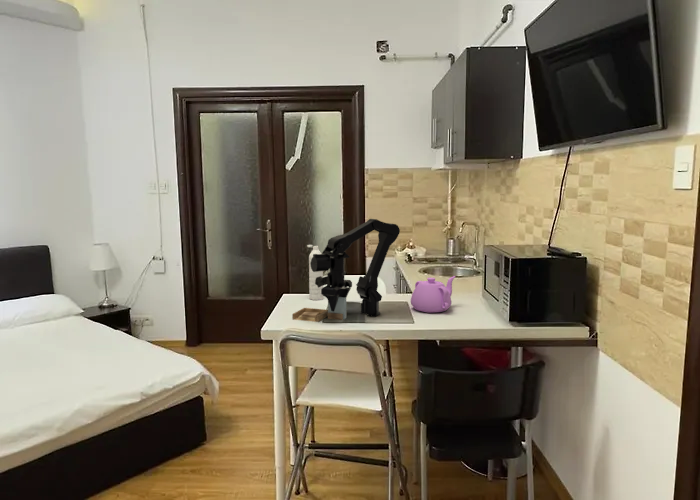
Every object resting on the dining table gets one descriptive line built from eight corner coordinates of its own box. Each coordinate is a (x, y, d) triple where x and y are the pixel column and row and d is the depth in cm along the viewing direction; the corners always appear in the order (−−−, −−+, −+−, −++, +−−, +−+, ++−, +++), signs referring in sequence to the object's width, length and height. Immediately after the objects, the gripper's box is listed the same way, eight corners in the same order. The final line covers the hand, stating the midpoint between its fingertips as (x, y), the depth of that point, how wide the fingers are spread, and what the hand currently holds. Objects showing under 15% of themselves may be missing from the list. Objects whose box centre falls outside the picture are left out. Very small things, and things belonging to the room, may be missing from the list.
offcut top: (319, 315, 207) (319, 312, 207) (316, 317, 203) (316, 315, 203) (304, 314, 209) (304, 311, 208) (301, 316, 204) (301, 314, 204)
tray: (329, 317, 211) (329, 309, 211) (318, 323, 201) (318, 316, 200) (304, 314, 215) (304, 307, 214) (292, 321, 205) (292, 313, 204)
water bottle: (326, 298, 244) (325, 245, 241) (315, 301, 240) (314, 247, 237) (314, 295, 251) (313, 244, 247) (303, 298, 246) (302, 245, 243)
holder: (346, 318, 209) (346, 311, 208) (341, 321, 204) (341, 314, 203) (332, 317, 211) (332, 310, 210) (327, 320, 206) (327, 313, 205)
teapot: (471, 311, 221) (472, 279, 219) (431, 317, 210) (432, 284, 208) (437, 301, 240) (438, 271, 238) (399, 306, 229) (399, 275, 227)
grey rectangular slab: (346, 319, 207) (346, 297, 206) (344, 321, 205) (344, 298, 204) (329, 318, 209) (329, 296, 208) (328, 319, 208) (327, 297, 206)
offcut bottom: (320, 317, 208) (320, 314, 207) (315, 320, 203) (315, 318, 203) (304, 315, 210) (304, 313, 210) (298, 318, 205) (298, 316, 205)
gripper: (327, 265, 216) (327, 301, 218) (308, 272, 199) (308, 312, 201) (352, 266, 212) (352, 304, 214) (335, 274, 195) (335, 314, 197)
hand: (337, 308), depth 207 cm, fingers open, 9 cm apart
